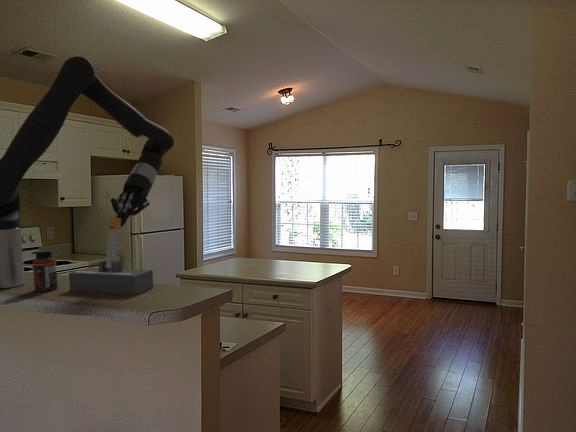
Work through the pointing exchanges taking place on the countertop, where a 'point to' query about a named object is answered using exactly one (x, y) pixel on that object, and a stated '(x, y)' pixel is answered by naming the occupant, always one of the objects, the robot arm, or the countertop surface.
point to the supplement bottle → (44, 271)
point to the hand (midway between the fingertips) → (118, 225)
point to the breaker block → (111, 279)
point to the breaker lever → (112, 241)
